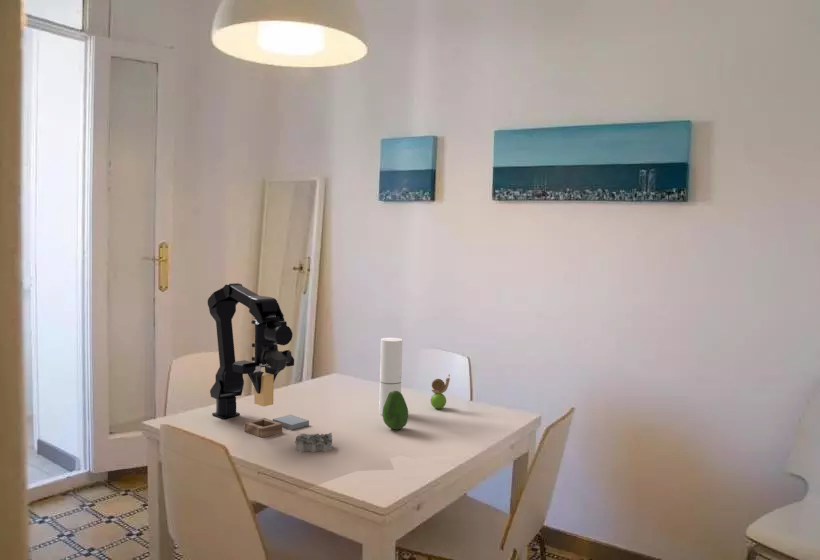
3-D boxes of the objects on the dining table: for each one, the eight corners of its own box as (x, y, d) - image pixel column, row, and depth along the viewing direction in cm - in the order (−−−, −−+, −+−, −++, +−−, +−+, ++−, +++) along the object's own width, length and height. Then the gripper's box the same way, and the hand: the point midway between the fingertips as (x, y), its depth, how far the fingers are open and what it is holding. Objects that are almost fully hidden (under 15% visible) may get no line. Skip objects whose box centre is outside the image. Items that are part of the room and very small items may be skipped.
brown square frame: (244, 431, 200) (244, 422, 200) (264, 425, 205) (264, 417, 205) (261, 437, 194) (262, 429, 194) (282, 431, 200) (282, 423, 200)
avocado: (391, 424, 211) (392, 386, 211) (412, 428, 207) (413, 390, 207) (377, 430, 205) (378, 391, 204) (398, 434, 201) (399, 395, 200)
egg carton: (293, 453, 183) (293, 438, 182) (296, 444, 190) (296, 430, 190) (331, 453, 184) (332, 438, 183) (332, 444, 191) (333, 430, 191)
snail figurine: (449, 410, 229) (450, 376, 228) (430, 410, 229) (431, 375, 228) (448, 406, 234) (449, 372, 233) (430, 406, 234) (431, 372, 233)
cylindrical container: (401, 410, 227) (403, 338, 225) (398, 416, 220) (401, 341, 218) (380, 409, 227) (382, 337, 225) (377, 415, 220) (379, 340, 218)
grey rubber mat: (272, 423, 208) (272, 418, 208) (290, 419, 213) (290, 414, 213) (291, 429, 202) (291, 425, 202) (308, 425, 208) (309, 420, 208)
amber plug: (254, 403, 199) (254, 373, 199) (263, 401, 202) (264, 372, 201) (263, 406, 196) (264, 376, 196) (273, 404, 199) (273, 374, 198)
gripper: (255, 347, 185) (254, 403, 187) (306, 340, 200) (305, 391, 201) (231, 342, 193) (231, 395, 194) (282, 335, 207) (282, 385, 208)
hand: (263, 392), depth 199 cm, fingers closed on amber plug, 3 cm apart
